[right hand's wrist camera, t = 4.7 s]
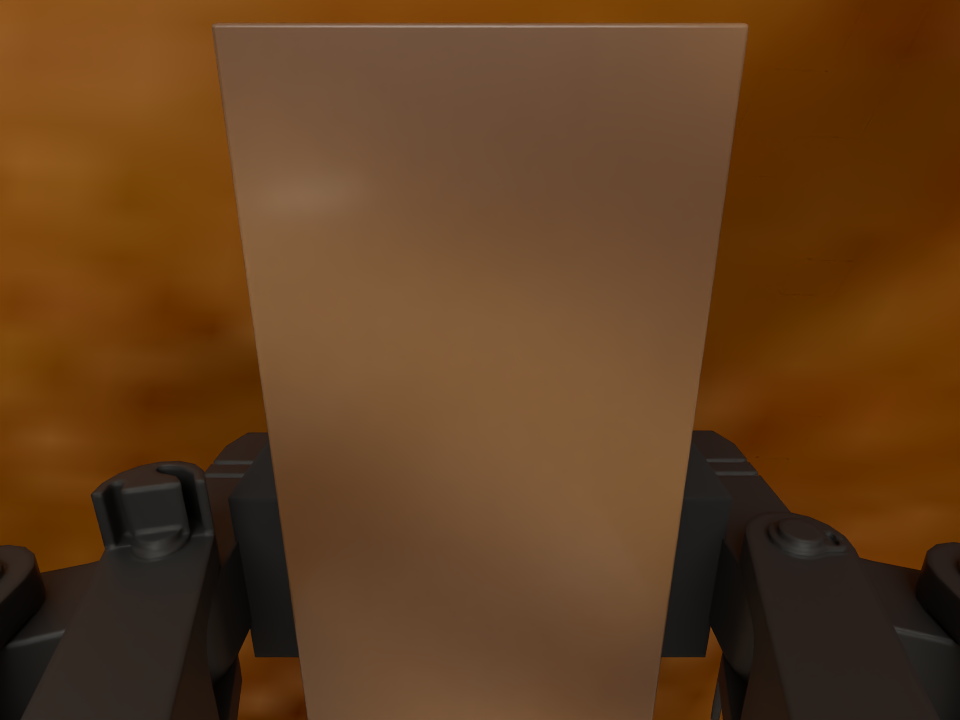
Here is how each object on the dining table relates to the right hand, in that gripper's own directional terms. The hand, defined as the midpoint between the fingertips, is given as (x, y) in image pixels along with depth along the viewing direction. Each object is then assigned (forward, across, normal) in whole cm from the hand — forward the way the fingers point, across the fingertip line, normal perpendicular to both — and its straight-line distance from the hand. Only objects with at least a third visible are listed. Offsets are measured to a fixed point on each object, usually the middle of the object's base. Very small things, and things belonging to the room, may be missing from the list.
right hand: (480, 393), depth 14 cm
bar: (+1, 0, -22) cm, 22 cm away
